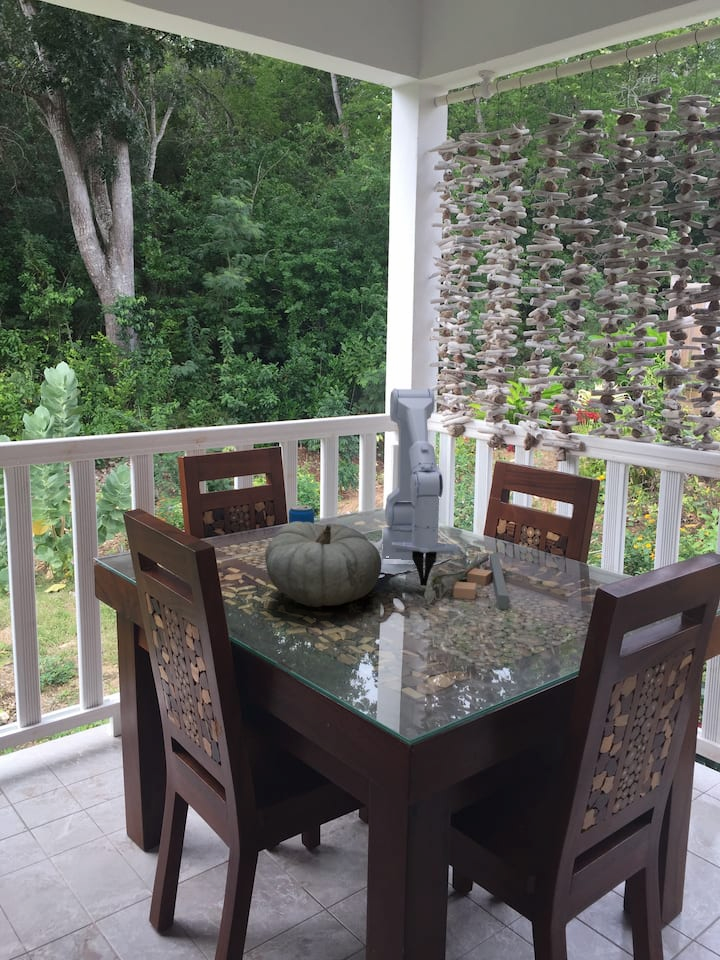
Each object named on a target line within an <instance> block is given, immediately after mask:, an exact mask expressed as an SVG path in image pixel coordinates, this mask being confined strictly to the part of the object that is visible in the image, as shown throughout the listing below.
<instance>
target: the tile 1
mask: <svg viewBox="0 0 720 960" xmlns="http://www.w3.org/2000/svg"><path fill="white" fill-rule="evenodd" d="M477 586H478V584H477V583H468V582H467V581H466V582H465V581H464V582H463V581H461V582H456V584H455V585H454V587H453V598H454V599H468V600H475V599H476V595H477Z"/></svg>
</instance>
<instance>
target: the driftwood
mask: <svg viewBox="0 0 720 960" xmlns="http://www.w3.org/2000/svg"><path fill="white" fill-rule="evenodd" d="M488 561H490V554H489V552H485V553H484V552H483V553H479V554H478V553H477V554H476V556H475V558H474V560H473V562H472V563H470V565H469V566H468V568H464V569H462V570H456V571H453V570H452V571H448V572H443V573H440V574H438V573H437V574H436V575H435V576H433V579H432V580H431V582H430V584H428V585H427V586H425V591H424V599H425V600H426V603H427V605H430V604H431V602H432V601H433V600H434V599H435V600H436V601H440V600H441V598H442V597H443V595H444V594H445V593H446V592H448V590H449V589H450V588H451V587H453V586H454V587H455V584H456V582H463V580H464V579H466V578H467V573H468V572H470V571H471V570H472V569H474V568H477V569H481V566H482V564H485V563H486V562H488Z"/></svg>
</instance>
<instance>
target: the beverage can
mask: <svg viewBox="0 0 720 960" xmlns="http://www.w3.org/2000/svg"><path fill="white" fill-rule="evenodd" d="M296 521H299V522H311V523H314V524H315V511H314V509H313V506H312V505H308V504H296V505H295V504H294V505H291V506H290V509H289V511H288V524H289V523H291V522H296Z"/></svg>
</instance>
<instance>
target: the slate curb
mask: <svg viewBox="0 0 720 960" xmlns="http://www.w3.org/2000/svg"><path fill="white" fill-rule="evenodd" d="M489 571H493V574H492V581H491V582H492V586H493V591H494V595H495V602H496V605H497V606H496V608H497V610H508V607H509V606H508V605H509V594H508V590H507V585H506V581H505V577H504V572H503V569H502V564H501V560H500V556H499V554H498V553H490V554H489Z"/></svg>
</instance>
